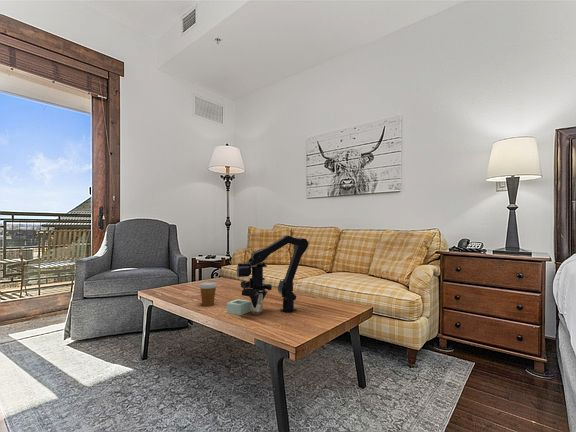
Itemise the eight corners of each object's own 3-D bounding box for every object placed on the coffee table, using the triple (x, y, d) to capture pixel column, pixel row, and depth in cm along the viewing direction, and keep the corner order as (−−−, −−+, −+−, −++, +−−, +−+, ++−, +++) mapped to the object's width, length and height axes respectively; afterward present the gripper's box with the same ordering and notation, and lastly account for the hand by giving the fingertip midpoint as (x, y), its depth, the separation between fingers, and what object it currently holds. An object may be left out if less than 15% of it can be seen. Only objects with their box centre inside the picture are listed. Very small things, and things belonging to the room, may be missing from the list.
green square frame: (237, 308, 166) (237, 299, 166) (251, 310, 161) (251, 301, 161) (226, 312, 158) (226, 302, 158) (240, 315, 153) (240, 305, 153)
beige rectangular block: (256, 312, 159) (256, 292, 159) (262, 313, 157) (262, 293, 157) (251, 314, 155) (251, 294, 156) (258, 315, 153) (258, 295, 154)
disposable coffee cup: (205, 302, 179) (205, 281, 179) (219, 303, 176) (219, 282, 177) (195, 306, 170) (196, 284, 170) (211, 307, 167) (211, 285, 167)
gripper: (255, 272, 169) (255, 300, 168) (233, 277, 153) (233, 308, 152) (272, 273, 163) (272, 303, 163) (251, 279, 147) (251, 312, 147)
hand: (257, 306), depth 156 cm, fingers closed on beige rectangular block, 4 cm apart
